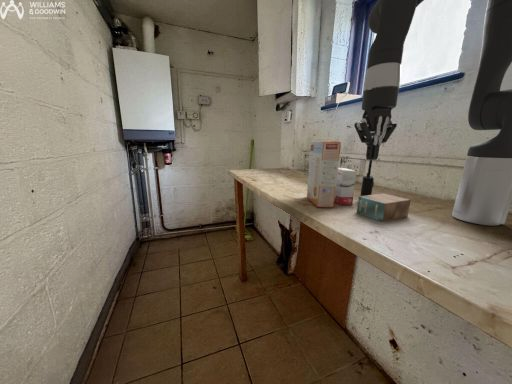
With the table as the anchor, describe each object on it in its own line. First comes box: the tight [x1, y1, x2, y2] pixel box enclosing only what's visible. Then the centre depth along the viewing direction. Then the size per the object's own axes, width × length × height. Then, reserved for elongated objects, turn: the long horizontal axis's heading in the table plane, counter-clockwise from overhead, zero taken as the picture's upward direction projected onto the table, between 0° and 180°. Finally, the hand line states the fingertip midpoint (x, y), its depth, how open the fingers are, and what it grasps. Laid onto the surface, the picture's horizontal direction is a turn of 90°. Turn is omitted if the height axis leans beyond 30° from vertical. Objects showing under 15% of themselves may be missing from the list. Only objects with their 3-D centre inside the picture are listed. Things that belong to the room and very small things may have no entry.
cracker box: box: [306, 140, 342, 209], centre depth 70 cm, size 14×6×21 cm, turn 179°
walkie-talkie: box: [359, 160, 375, 196], centre depth 70 cm, size 5×3×15 cm
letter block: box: [356, 193, 412, 222], centre depth 60 cm, size 5×8×11 cm
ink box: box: [334, 167, 357, 206], centre depth 72 cm, size 9×5×12 cm, turn 179°
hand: (371, 159), depth 54 cm, fingers closed
